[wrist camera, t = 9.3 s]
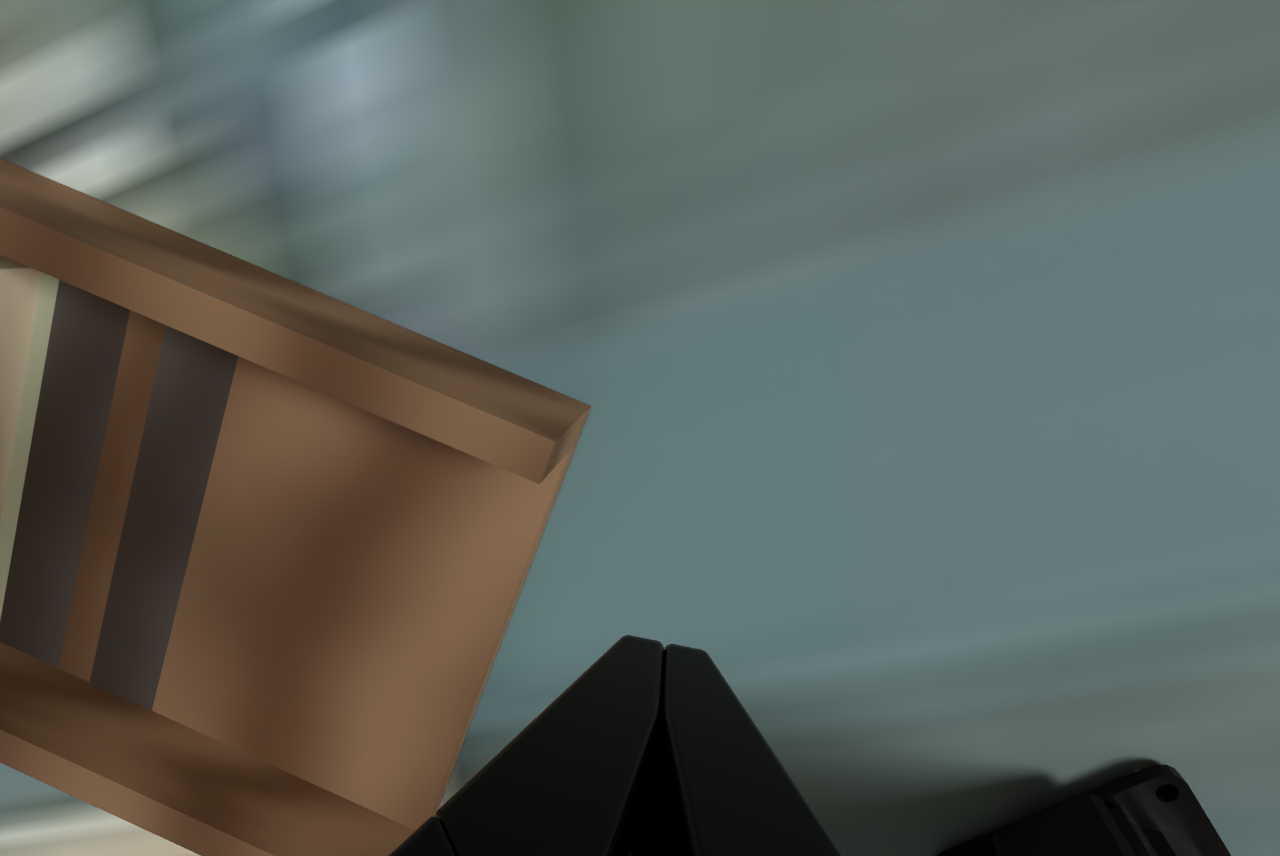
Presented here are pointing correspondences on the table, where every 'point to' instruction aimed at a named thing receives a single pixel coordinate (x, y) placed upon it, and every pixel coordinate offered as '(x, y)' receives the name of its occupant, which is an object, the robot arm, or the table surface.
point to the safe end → (26, 424)
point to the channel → (255, 542)
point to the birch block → (14, 350)
